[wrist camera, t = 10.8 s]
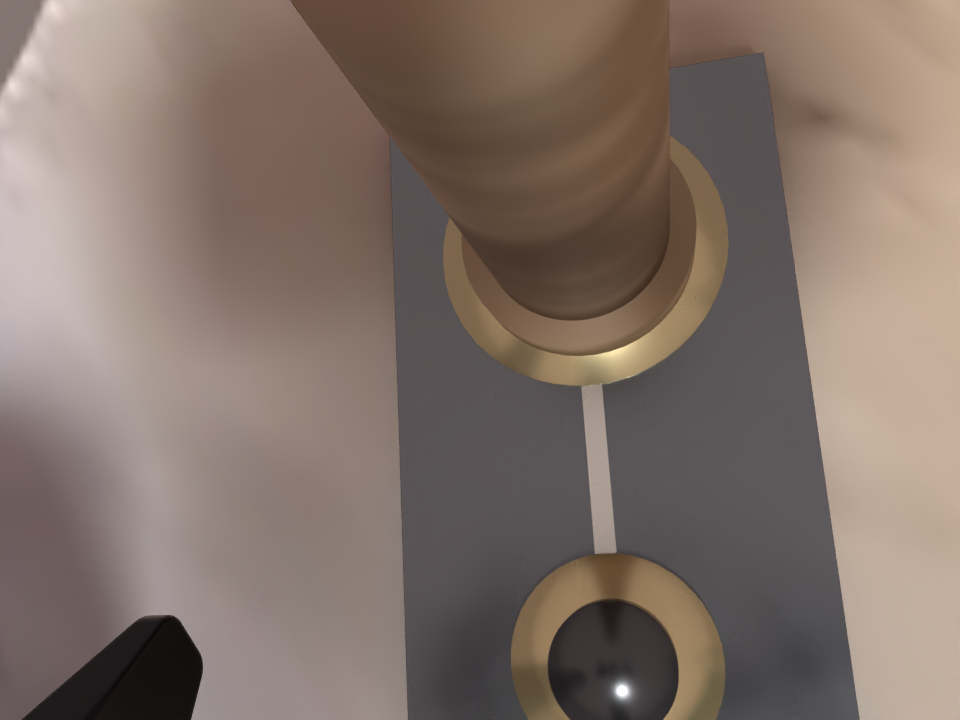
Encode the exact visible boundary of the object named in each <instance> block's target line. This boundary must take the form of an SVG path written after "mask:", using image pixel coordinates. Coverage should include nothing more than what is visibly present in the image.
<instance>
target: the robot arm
mask: <svg viewBox="0 0 960 720" xmlns="http://www.w3.org/2000/svg"><path fill="white" fill-rule="evenodd" d="M202 671H203V663H202V657H201V654H200V652H199V651H198V649H197V647H196V646H195V644H194V643H193V641H192V639H191V638H190V636H189V635H188V633H187V631H186V630H185V628H184V626H183V625H182V623H181V622H180V620H179V619H178V618H176V617H175V616H172V615H153V616H145V617H142V618H140V619H138V620H137V621H136V622H134V623H133V624H132V625H131V626H130V627H128V628H127V629H126V630H125V631H124V632H123V633H122V634H120V635H119V636H118V637H117V638H116V639H115V640H113V641H112V642H111V643H110V644H109V645H108V646H106V647H105V648H104V649H103V650H102V651H101V652H99V653H98V654H97V655H96V656H95V657H94V658H93V659H91V660H90V661H89V662H88V663H87V664H86V665H84V666H83V667H82V668H81V669H80V670H79V671H77V672H76V673H75V674H74V675H73V676H72V677H70V678H69V679H68V680H67V681H66V682H65V683H64V684H62V685H61V686H60V687H59V688H58V689H57V690H55V691H54V692H53V693H52V694H51V695H50V696H48V697H47V698H46V699H45V700H44V701H43V702H41V703H40V704H39V705H38V706H37V707H36V708H35V709H33V710H32V711H31V712H30V713H29V714H28V715H26V716H25V717H24V718H23V719H22V720H191V717H192V713H193V709H194V706H195V702H196V698H197V694H198V690H199V686H200V682H201V678H202Z"/></svg>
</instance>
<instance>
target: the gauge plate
mask: <svg viewBox="0 0 960 720" xmlns="http://www.w3.org/2000/svg"><path fill="white" fill-rule="evenodd" d="M669 107H670V158H671V160H672V161H673V162H674V163H675V165H676V166H677V167H678V168H679V170H680V172H681V173H682V175H683V177H684V179H685V180H686V182H687V185H688V187H689V190H690V192H691V194H692V198H693V202H694V206H695V212H696V222H697V228H696V245H695V256H694V261H693V267H692V271H691V274H690V277H689V280H688V283H687V285H686V287H685V289H684V292H683V294H682V296H681V297H680V299H679V300H678V302H677V303H676V305H675V306H674V308H673V309H672V311H671V312H670V313H669V314H668V315H667V316H666V317H665V319H664V320H663V321H662V322H661V323H660V324H658V325H657V326H656V327H655V328H654V329H653V330H652V331H650V332H649V333H647V334H646V335H644V336H643V337H641V338H640V339H638V340H637V341H635V342H633V343H631V344H629V345H627V346H625V347H622V348H619V349H616V350H613V351H610V352H606V353H601V354H597V355H587V356H566V355H560V354H554V353H550V352H546V351H543V350H540V349H537V348H535V347H533V346H531V345H528V344H526V343H524V342H523V341H521V340H520V339H518V338H516V337H515V336H513V335H512V334H511V333H510V332H509V331H507V330H506V329H505V328H504V327H503V326H502V325H501V324H500V323H499V322H498V321H497V320H496V318H495V317H494V316H493V315H492V314H491V313H490V312H489V311H488V309H487V308H486V307H485V306H484V305H483V304H482V302H481V301H480V299H479V298H478V296H477V295H476V293H475V292H474V290H473V287H472V285H471V283H470V281H469V279H468V276H467V273H466V270H465V267H464V261H463V256H462V242H461V236H462V233H461V232H460V231H459V229H458V228H457V226H456V225H455V224H454V222H453V221H452V220H451V218H450V217H449V216H448V214H447V213H446V212H445V210H444V209H443V208H442V206H441V205H440V203H439V202H438V201H437V199H436V198H435V197H434V195H433V194H432V193H431V191H430V190H429V189H428V187H427V186H426V184H425V183H424V182H423V180H422V179H421V178H420V176H419V175H418V174H417V172H416V171H415V170H414V168H413V167H412V165H411V164H410V163H409V161H408V160H407V159H406V157H405V156H404V155H403V153H402V152H401V151H400V149H399V148H398V147H397V145H396V144H395V142H394V141H393V140H392V138H391V137H390V158H391V190H392V222H393V254H394V286H395V318H396V350H397V382H398V413H399V445H400V477H401V509H402V541H403V573H404V605H405V637H406V669H407V701H408V720H859V713H858V706H857V699H856V692H855V685H854V678H853V671H852V664H851V657H850V650H849V643H848V636H847V629H846V622H845V615H844V609H843V602H842V595H841V588H840V581H839V574H838V567H837V560H836V553H835V546H834V539H833V532H832V525H831V518H830V511H829V504H828V497H827V490H826V483H825V476H824V469H823V462H822V455H821V448H820V441H819V434H818V427H817V420H816V413H815V406H814V399H813V392H812V385H811V378H810V372H809V365H808V358H807V351H806V344H805V337H804V330H803V323H802V316H801V309H800V302H799V295H798V288H797V281H796V274H795V267H794V260H793V253H792V246H791V239H790V232H789V225H788V218H787V211H786V204H785V197H784V190H783V183H782V176H781V169H780V162H779V155H778V148H777V141H776V135H775V128H774V121H773V114H772V107H771V100H770V93H769V86H768V79H767V72H766V65H765V58H764V52H762V53H756V54H750V55H745V56H739V57H733V58H727V59H722V60H716V61H710V62H705V63H699V64H693V65H688V66H682V67H676V68H670V69H669Z"/></svg>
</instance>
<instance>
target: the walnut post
mask: <svg viewBox="0 0 960 720" xmlns="http://www.w3.org/2000/svg"><path fill="white" fill-rule="evenodd" d="M290 1H291V2H292V4H293V5H294V7H295V8H296V10H297V11H298V12H299V14H300V15H301V16H302V18H303V19H304V20H305V22H306V23H307V25H308V26H309V27H310V29H311V30H312V31H313V33H314V34H315V35H316V37H317V38H318V39H319V41H320V42H321V44H322V45H323V46H324V48H325V49H326V50H327V52H328V53H329V54H330V56H331V57H332V58H333V60H334V61H335V62H336V64H337V65H338V67H339V68H340V69H341V71H342V72H343V73H344V75H345V76H346V77H347V79H348V80H349V81H350V83H351V84H352V86H353V87H354V88H355V90H356V91H357V92H358V94H359V95H360V96H361V98H362V99H363V100H364V102H365V103H366V104H367V106H368V107H369V109H370V110H371V111H372V113H373V114H374V115H375V117H376V118H377V119H378V121H379V122H380V123H381V125H382V126H383V128H384V129H385V130H386V132H387V133H388V134H389V136H390V137H391V138H392V140H393V141H394V142H395V144H396V145H397V147H398V148H399V149H400V151H401V152H402V153H403V155H404V156H405V157H406V159H407V160H408V161H409V163H410V164H411V165H412V167H413V168H414V170H415V171H416V172H417V174H418V175H419V176H420V178H421V179H422V180H423V182H424V183H425V184H426V186H427V187H428V189H429V190H430V191H431V193H432V194H433V195H434V197H435V198H436V199H437V201H438V202H439V203H440V205H441V206H442V208H443V209H444V210H445V212H446V213H447V214H448V216H449V217H450V218H451V220H452V221H453V222H454V224H455V225H456V226H457V228H458V229H459V231H460V232H461V233H462V236H461V242H462V256H463V261H464V267H465V270H466V273H467V276H468V279H469V281H470V283H471V285H472V287H473V290H474V292H475V293H476V295H477V296H478V298H479V299H480V301H481V302H482V304H483V305H484V306H485V307H486V308H487V309H488V311H489V312H490V313H491V314H492V315H493V316H494V317H495V318H496V320H497V321H498V322H499V323H500V324H501V325H502V326H503V327H504V328H505V329H506V330H507V331H509V332H510V333H511V334H512V335H513V336H515V337H516V338H518V339H520V340H521V341H523V342H524V343H526V344H528V345H531V346H533V347H535V348H537V349H540V350H543V351H546V352H550V353H554V354H560V355H566V356H587V355H597V354H601V353H606V352H610V351H613V350H616V349H619V348H622V347H625V346H627V345H629V344H631V343H633V342H635V341H637V340H638V339H640V338H641V337H643V336H644V335H646V334H647V333H649V332H650V331H652V330H653V329H654V328H655V327H656V326H657V325H658V324H660V323H661V322H662V321H663V320H664V319H665V317H666V316H667V315H668V314H669V313H670V312H671V311H672V309H673V308H674V306H675V305H676V303H677V302H678V300H679V299H680V297H681V296H682V294H683V292H684V289H685V287H686V285H687V283H688V280H689V277H690V274H691V271H692V267H693V261H694V256H695V245H696V228H697V222H696V212H695V206H694V202H693V198H692V194H691V192H690V190H689V187H688V185H687V182H686V180H685V179H684V177H683V175H682V173H681V172H680V170H679V168H678V167H677V166H676V165H675V163H674V162H673V161H672V160H671V158H670V107H669V0H290Z"/></svg>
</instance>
